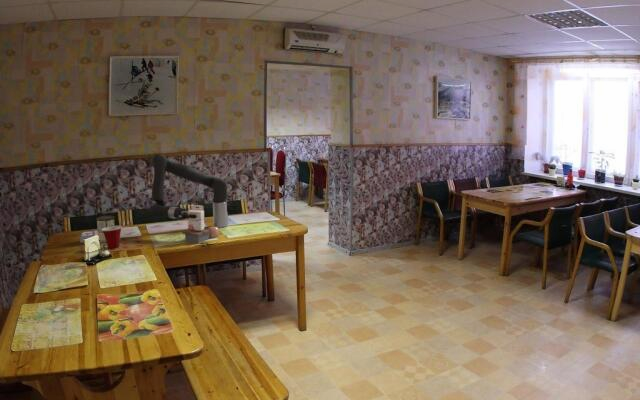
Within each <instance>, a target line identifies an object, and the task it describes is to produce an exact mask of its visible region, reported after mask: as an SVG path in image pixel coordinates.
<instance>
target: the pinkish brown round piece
mask: <svg viewBox="0 0 640 400" xmlns="http://www.w3.org/2000/svg"><path fill="white" fill-rule="evenodd" d="M207 229H210V230H211V231H210V232H209V239H217V238H219V236H220V235H219V228H218V227H214V226H209V227H208V228H207Z"/></svg>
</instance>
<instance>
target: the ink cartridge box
mask: <svg viewBox="0 0 640 400" xmlns="http://www.w3.org/2000/svg"><path fill="white" fill-rule="evenodd" d="M190 206H191V208H190V209H189V210H187V211H188V214H193V215H196V218H195V219H194V218H188V219H187V226H188V228H187V230H200V231H201V230H203V229H205V210H204V205H200V204H191V205H190Z"/></svg>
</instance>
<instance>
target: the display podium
mask: <svg viewBox="0 0 640 400" xmlns="http://www.w3.org/2000/svg"><path fill="white" fill-rule="evenodd" d="M210 231H211V230H210V229H208V228H204V229H203V230H201V231H200V230H188V229H187V230H185V231H182V234H183V235H184V240H185V242H188V243H195V244H200V243H203V242H205V241H209V240H210V238H209V232H210Z"/></svg>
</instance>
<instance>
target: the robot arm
mask: <svg viewBox="0 0 640 400" xmlns="http://www.w3.org/2000/svg"><path fill="white" fill-rule="evenodd" d="M149 162H150V166H151V167H152V168H153V171H154V173H153V181H152V185H151V186H152V187H151V200H152V201H153V202H155V204H152V205H151V206H149V207H148V210H147V211H148V213H149V215H151V216H152V217H163V218H167V219H168V218H169V219H174V220H181V221H183V220H185V219H186V220H188V218H194V219H195V218H196V215H193V214H188V211H189V210H188V209H186V208H185V207H182V206H170V205H169V206H168V205H166V204H165V200H164V199H165V198H164V191H165V185H164V184H165V174H166V172H168V173H170V174H172V175H174V176H177V177H179V178H180V179H182V180H185V181H188V182H191V183H194V184H199V185H204V186H205V187H208V188H209V189H211V190H213V198H212V215H213V216H212V217H213V220H212V221H213V227H218V229H222V228H227V227H228V225H229V220H228V219H229V218H228V217H229V216H228V215H229V214H228V213H229V212H228V211H227V210H228V208H227V206H228V205H227V204H228V203H227V198H228V184H227V182H226V181H225V180H224V179H222V178H220V177H216V176H211V175H209V174H206V173H205V172H203V171H201V170H199V169H197V168H195V167H193V166H190V165H187V164H183V163H178V162H173V161H171V160H169V159H168V158H167V157H166V156H165V154H163V153H156V154H154V155H152V156H151V157H150V160H149Z"/></svg>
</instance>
